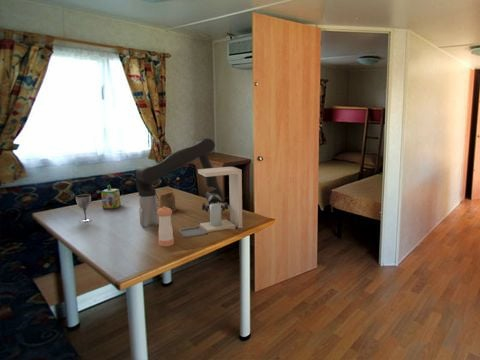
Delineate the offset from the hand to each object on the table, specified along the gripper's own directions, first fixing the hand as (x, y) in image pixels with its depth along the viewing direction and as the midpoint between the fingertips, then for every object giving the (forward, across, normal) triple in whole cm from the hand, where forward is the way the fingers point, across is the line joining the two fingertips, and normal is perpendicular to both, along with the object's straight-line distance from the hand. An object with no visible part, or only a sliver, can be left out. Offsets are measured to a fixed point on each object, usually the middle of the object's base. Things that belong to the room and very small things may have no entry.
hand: (215, 209), depth 191 cm
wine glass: (-22, -76, +10) cm, 79 cm away
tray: (+9, -12, +10) cm, 18 cm away
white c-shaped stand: (0, +2, +10) cm, 10 cm away
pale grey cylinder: (+1, 0, +8) cm, 8 cm away
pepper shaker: (+23, -24, +10) cm, 35 cm away
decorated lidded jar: (-51, -68, +10) cm, 86 cm away
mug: (-38, -33, +10) cm, 51 cm away
